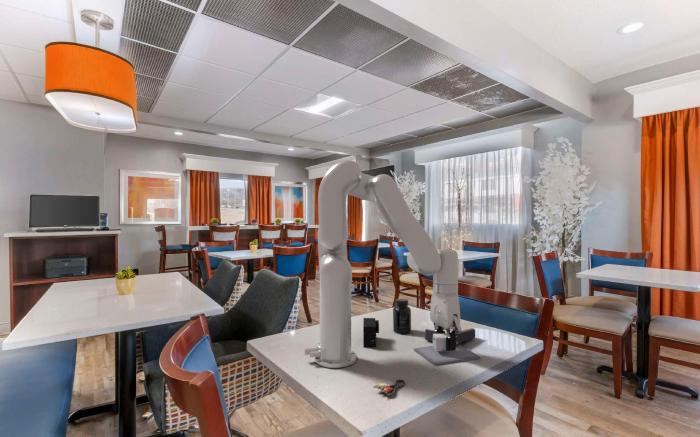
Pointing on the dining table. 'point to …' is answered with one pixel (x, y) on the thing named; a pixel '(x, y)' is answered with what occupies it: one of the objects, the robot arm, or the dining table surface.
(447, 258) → the robot arm
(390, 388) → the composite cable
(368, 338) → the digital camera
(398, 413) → the dining table surface
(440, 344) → the usb wall charger
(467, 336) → the grey product box
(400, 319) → the supplement bottle
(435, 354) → the desk pad
